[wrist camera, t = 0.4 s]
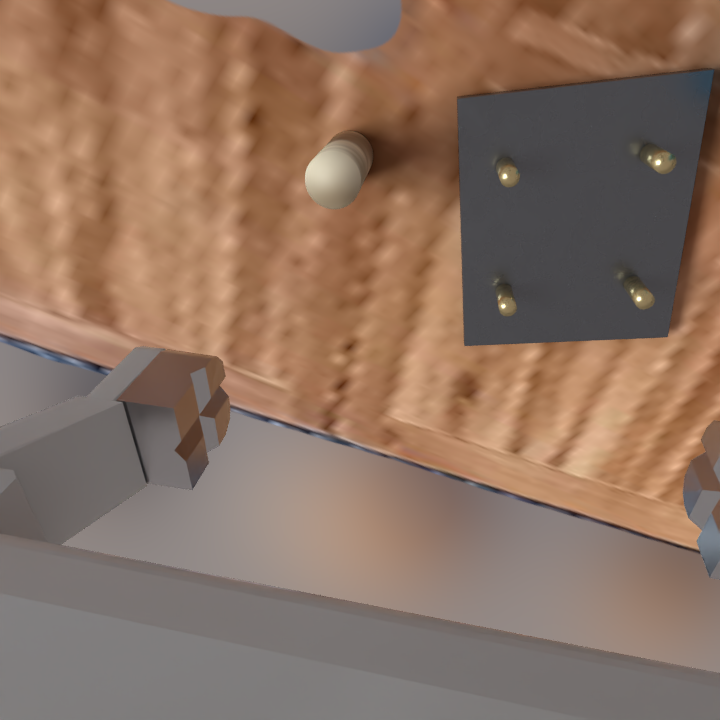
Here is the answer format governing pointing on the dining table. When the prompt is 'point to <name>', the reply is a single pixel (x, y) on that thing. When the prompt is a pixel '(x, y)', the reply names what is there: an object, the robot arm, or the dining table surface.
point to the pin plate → (577, 206)
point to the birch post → (339, 170)
